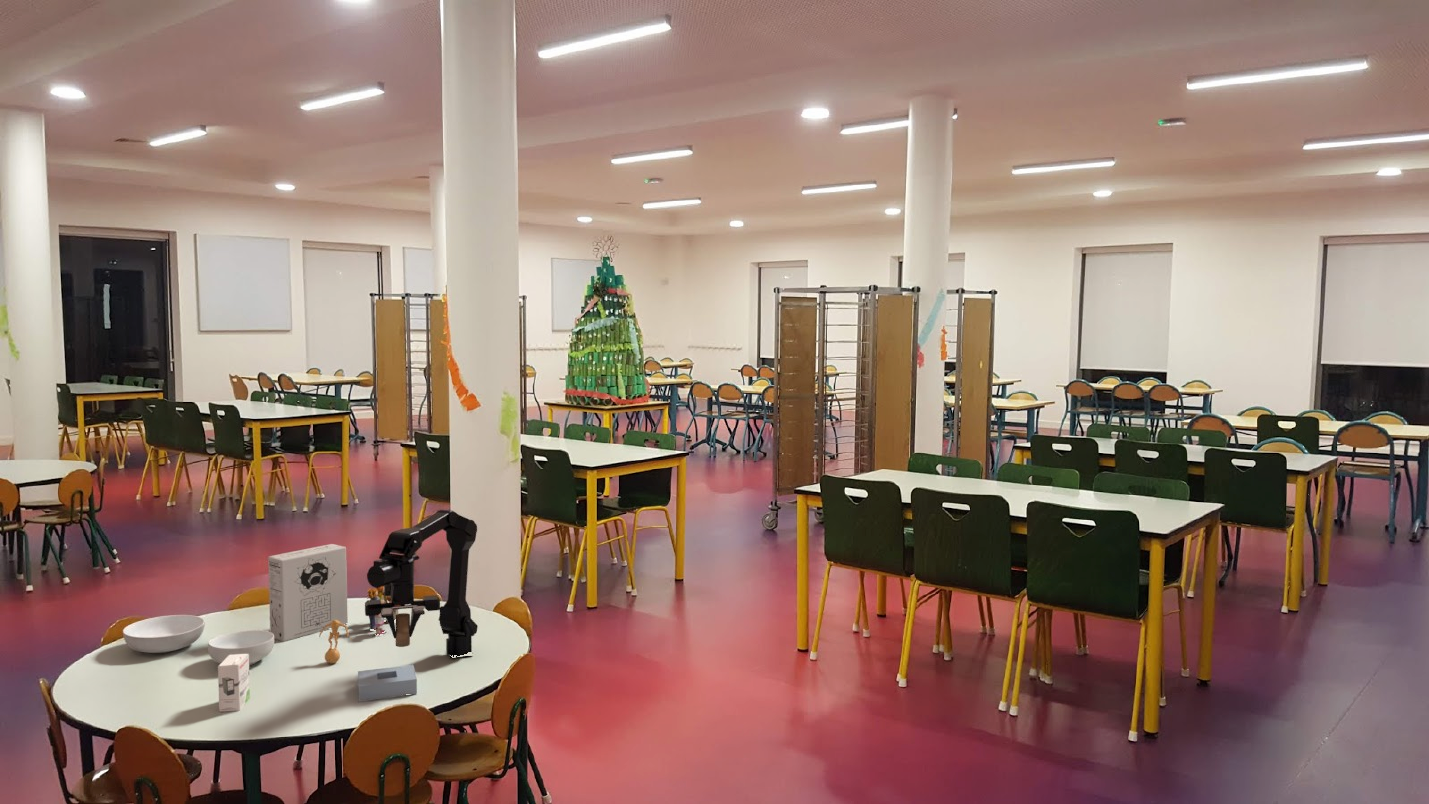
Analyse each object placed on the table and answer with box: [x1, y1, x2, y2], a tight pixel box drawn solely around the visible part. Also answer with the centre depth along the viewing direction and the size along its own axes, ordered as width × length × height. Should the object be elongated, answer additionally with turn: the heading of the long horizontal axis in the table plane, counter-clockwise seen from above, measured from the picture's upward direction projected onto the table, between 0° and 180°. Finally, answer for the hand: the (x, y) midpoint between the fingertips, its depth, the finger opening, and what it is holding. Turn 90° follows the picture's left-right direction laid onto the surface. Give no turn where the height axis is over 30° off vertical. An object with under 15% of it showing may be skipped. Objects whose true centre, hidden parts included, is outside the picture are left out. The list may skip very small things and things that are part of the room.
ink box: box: [217, 654, 251, 712], centre depth 238 cm, size 9×5×12 cm, turn 10°
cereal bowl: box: [207, 629, 275, 667], centre depth 267 cm, size 17×17×7 cm
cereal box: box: [267, 543, 349, 642], centre depth 295 cm, size 22×8×25 cm, turn 144°
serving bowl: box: [122, 614, 206, 654], centre depth 279 cm, size 21×21×7 cm
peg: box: [395, 612, 411, 648], centre depth 252 cm, size 4×4×8 cm
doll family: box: [366, 586, 400, 635], centre depth 299 cm, size 21×10×13 cm, turn 179°
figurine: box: [318, 619, 350, 664], centre depth 269 cm, size 8×6×12 cm
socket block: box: [357, 664, 418, 702], centre depth 249 cm, size 14×11×4 cm
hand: (402, 637), depth 252 cm, fingers closed on peg, 4 cm apart
